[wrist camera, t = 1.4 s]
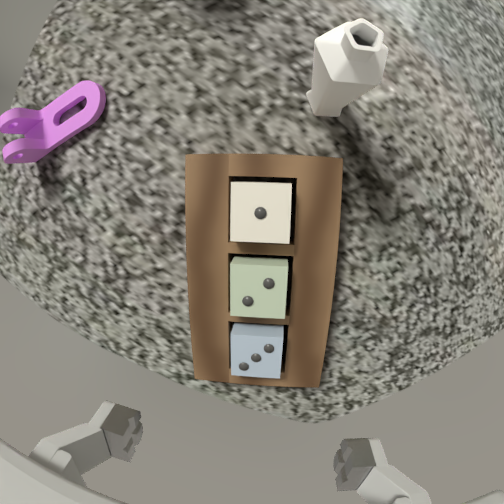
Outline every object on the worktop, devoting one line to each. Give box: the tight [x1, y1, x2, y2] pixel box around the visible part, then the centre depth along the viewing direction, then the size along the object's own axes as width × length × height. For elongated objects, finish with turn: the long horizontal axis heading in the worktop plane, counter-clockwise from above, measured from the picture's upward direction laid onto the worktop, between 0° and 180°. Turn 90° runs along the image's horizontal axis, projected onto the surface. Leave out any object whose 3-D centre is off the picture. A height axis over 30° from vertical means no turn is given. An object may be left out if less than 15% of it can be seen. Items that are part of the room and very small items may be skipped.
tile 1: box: [230, 182, 292, 244], centre depth 26 cm, size 5×5×3 cm
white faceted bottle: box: [306, 18, 388, 117], centre depth 19 cm, size 5×4×15 cm
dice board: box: [185, 154, 343, 387], centre depth 30 cm, size 14×24×2 cm, turn 179°
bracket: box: [0, 81, 106, 163], centre depth 25 cm, size 13×6×7 cm, turn 108°
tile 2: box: [230, 256, 288, 319], centre depth 28 cm, size 5×5×3 cm
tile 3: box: [231, 322, 284, 378], centre depth 30 cm, size 5×5×3 cm
